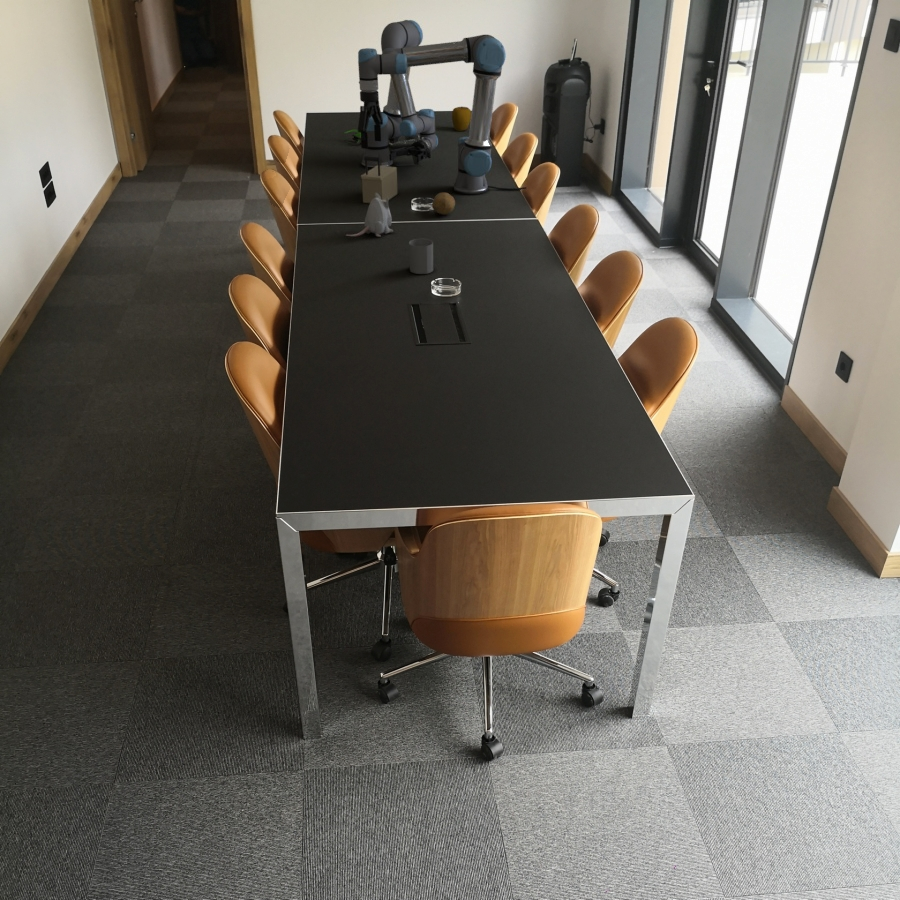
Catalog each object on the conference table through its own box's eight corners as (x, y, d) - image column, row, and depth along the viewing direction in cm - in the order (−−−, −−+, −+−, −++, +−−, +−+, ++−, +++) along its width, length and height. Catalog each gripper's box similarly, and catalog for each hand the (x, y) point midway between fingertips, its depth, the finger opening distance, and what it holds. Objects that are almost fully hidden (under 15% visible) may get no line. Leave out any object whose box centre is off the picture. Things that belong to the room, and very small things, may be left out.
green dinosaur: (399, 126, 467) (343, 124, 465) (399, 141, 460) (342, 139, 458) (399, 136, 472) (343, 133, 470) (399, 151, 465) (342, 149, 463)
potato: (453, 208, 369) (453, 189, 365) (456, 218, 357) (456, 199, 353) (431, 208, 368) (430, 189, 364) (432, 218, 356) (432, 199, 352)
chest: (382, 204, 374) (381, 179, 368) (363, 202, 376) (361, 177, 370) (397, 193, 387) (396, 169, 381) (378, 191, 389) (377, 168, 384)
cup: (409, 265, 311) (408, 238, 306) (432, 265, 312) (431, 238, 307) (410, 274, 304) (409, 246, 299) (433, 273, 305) (433, 246, 299)
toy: (398, 232, 342) (397, 194, 334) (353, 246, 328) (351, 207, 320) (383, 227, 348) (381, 189, 340) (338, 241, 333) (335, 202, 325)
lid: (380, 180, 367) (379, 158, 362) (360, 178, 370) (359, 157, 365) (396, 169, 381) (396, 148, 376) (377, 167, 384) (376, 147, 379)
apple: (471, 132, 486) (471, 108, 479) (451, 132, 486) (451, 108, 479) (470, 128, 495) (471, 104, 488) (452, 128, 495) (452, 104, 488)
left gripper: (396, 138, 416) (378, 148, 399) (444, 140, 409) (429, 150, 392) (397, 154, 420) (379, 165, 403) (445, 157, 412) (429, 167, 395)
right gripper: (373, 84, 362) (375, 137, 374) (347, 95, 343) (350, 150, 354) (389, 85, 360) (391, 138, 372) (364, 96, 341) (367, 152, 352)
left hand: (403, 158), depth 397 cm, fingers open, 13 cm apart
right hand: (371, 144), depth 363 cm, fingers open, 13 cm apart
